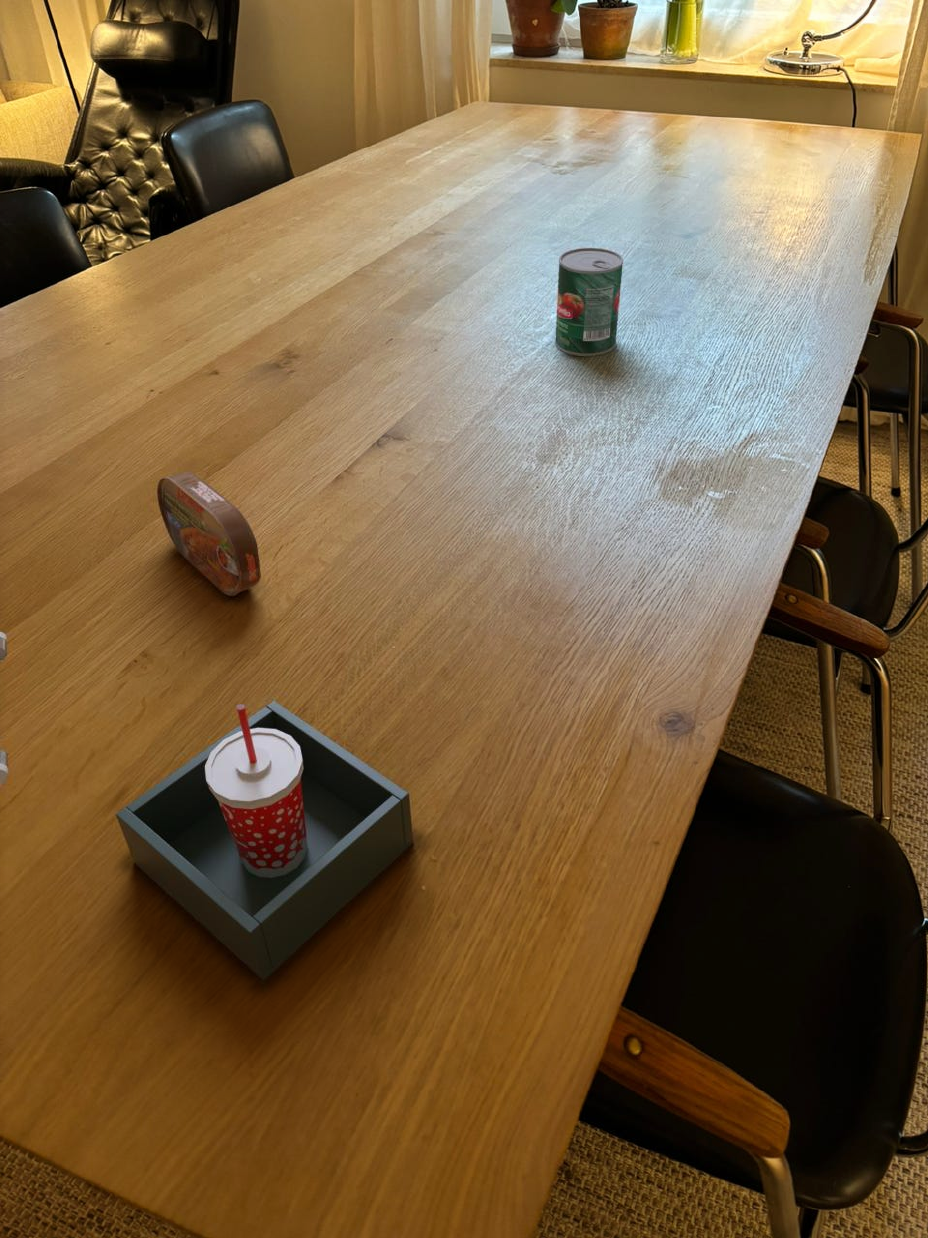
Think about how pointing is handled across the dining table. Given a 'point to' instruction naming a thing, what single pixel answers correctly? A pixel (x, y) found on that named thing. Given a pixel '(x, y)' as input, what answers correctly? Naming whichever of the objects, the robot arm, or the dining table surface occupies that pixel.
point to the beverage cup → (261, 797)
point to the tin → (209, 532)
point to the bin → (285, 905)
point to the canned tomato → (588, 301)
